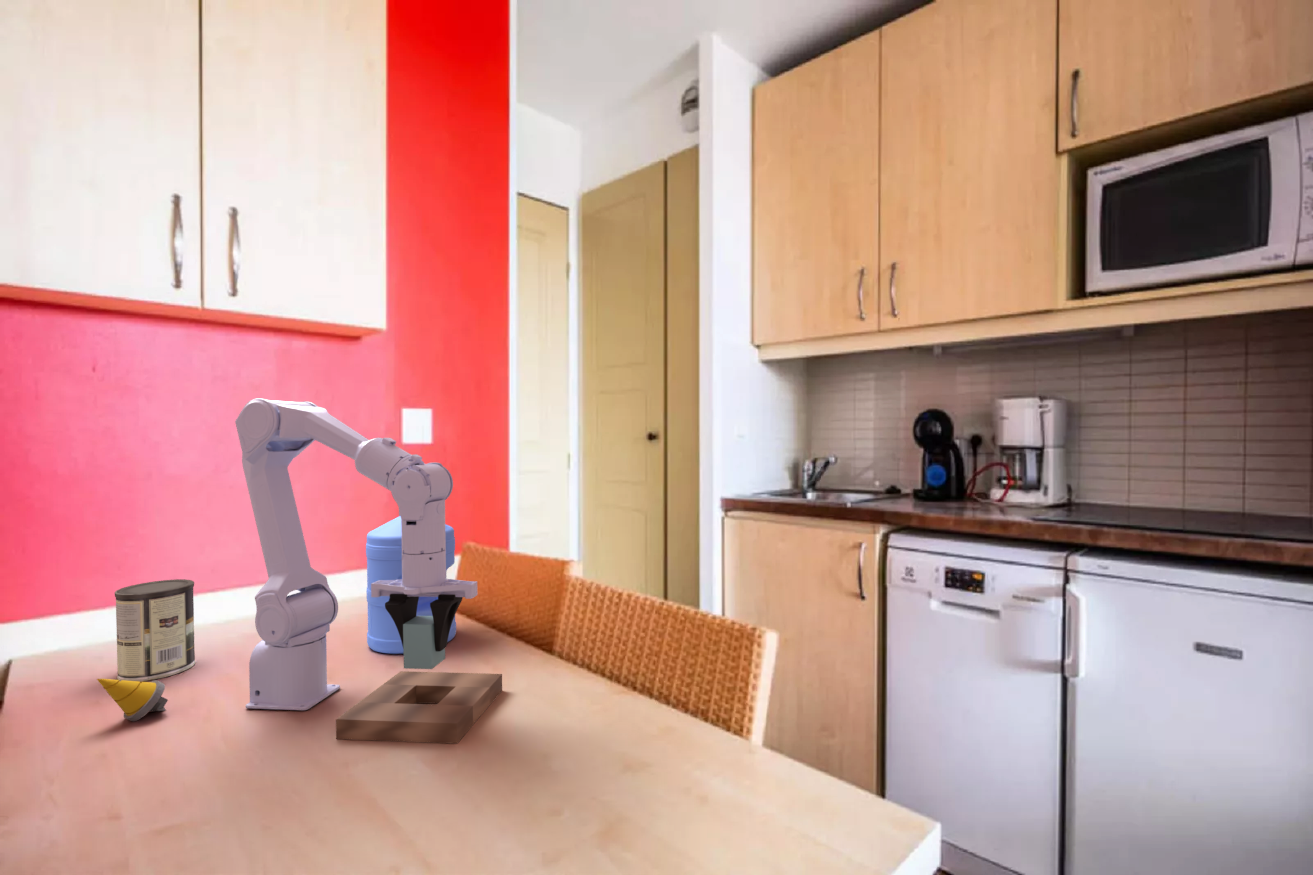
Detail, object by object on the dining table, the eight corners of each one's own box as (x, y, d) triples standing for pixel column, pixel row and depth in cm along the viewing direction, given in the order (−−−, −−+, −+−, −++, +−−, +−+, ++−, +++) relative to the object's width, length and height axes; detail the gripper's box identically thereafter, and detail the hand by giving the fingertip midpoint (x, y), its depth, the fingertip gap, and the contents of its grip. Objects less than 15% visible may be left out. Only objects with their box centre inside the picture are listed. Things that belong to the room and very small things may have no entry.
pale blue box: (403, 668, 83) (403, 624, 83) (418, 657, 87) (417, 615, 87) (431, 669, 83) (431, 624, 83) (445, 658, 87) (444, 616, 87)
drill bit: (170, 722, 84) (99, 690, 79) (142, 735, 85) (70, 704, 80) (189, 686, 89) (123, 653, 83) (162, 699, 90) (94, 668, 84)
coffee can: (156, 658, 108) (155, 578, 108) (210, 659, 107) (209, 579, 107) (97, 682, 98) (96, 593, 98) (156, 683, 97) (155, 594, 97)
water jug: (347, 651, 110) (345, 496, 110) (406, 625, 125) (404, 488, 125) (420, 659, 106) (418, 497, 106) (472, 631, 121) (470, 489, 121)
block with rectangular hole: (336, 738, 78) (335, 719, 78) (400, 687, 94) (400, 671, 94) (457, 743, 76) (456, 723, 76) (502, 690, 92) (502, 673, 92)
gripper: (357, 556, 82) (359, 657, 82) (462, 556, 80) (463, 660, 80) (386, 546, 89) (387, 640, 89) (482, 547, 87) (484, 642, 87)
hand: (425, 648), depth 85 cm, fingers closed on pale blue box, 4 cm apart
